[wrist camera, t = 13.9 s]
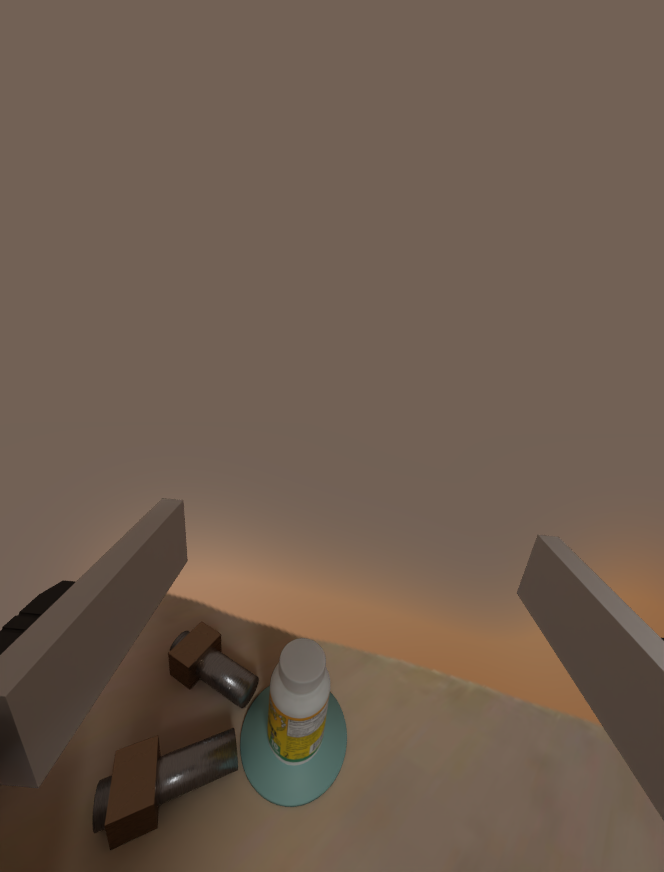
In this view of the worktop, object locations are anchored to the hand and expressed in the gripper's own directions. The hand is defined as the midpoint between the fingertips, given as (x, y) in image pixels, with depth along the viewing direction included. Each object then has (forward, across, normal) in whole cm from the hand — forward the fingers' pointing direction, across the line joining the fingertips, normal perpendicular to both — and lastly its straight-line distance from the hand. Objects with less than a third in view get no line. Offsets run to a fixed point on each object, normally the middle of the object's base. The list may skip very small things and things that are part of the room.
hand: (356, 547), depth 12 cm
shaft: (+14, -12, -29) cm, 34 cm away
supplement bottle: (+10, -2, -29) cm, 31 cm away
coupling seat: (+10, -2, -29) cm, 31 cm away
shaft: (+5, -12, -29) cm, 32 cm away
